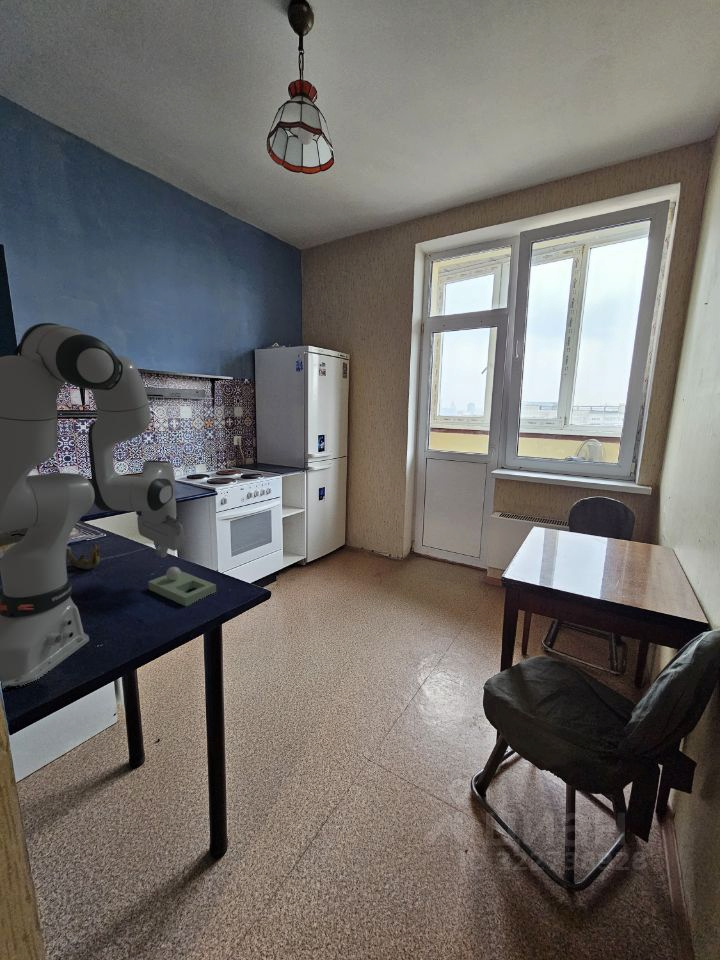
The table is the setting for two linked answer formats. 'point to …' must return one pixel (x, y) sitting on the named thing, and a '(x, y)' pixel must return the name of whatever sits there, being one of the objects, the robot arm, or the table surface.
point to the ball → (173, 573)
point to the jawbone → (82, 560)
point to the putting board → (182, 588)
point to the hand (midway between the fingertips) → (162, 555)
